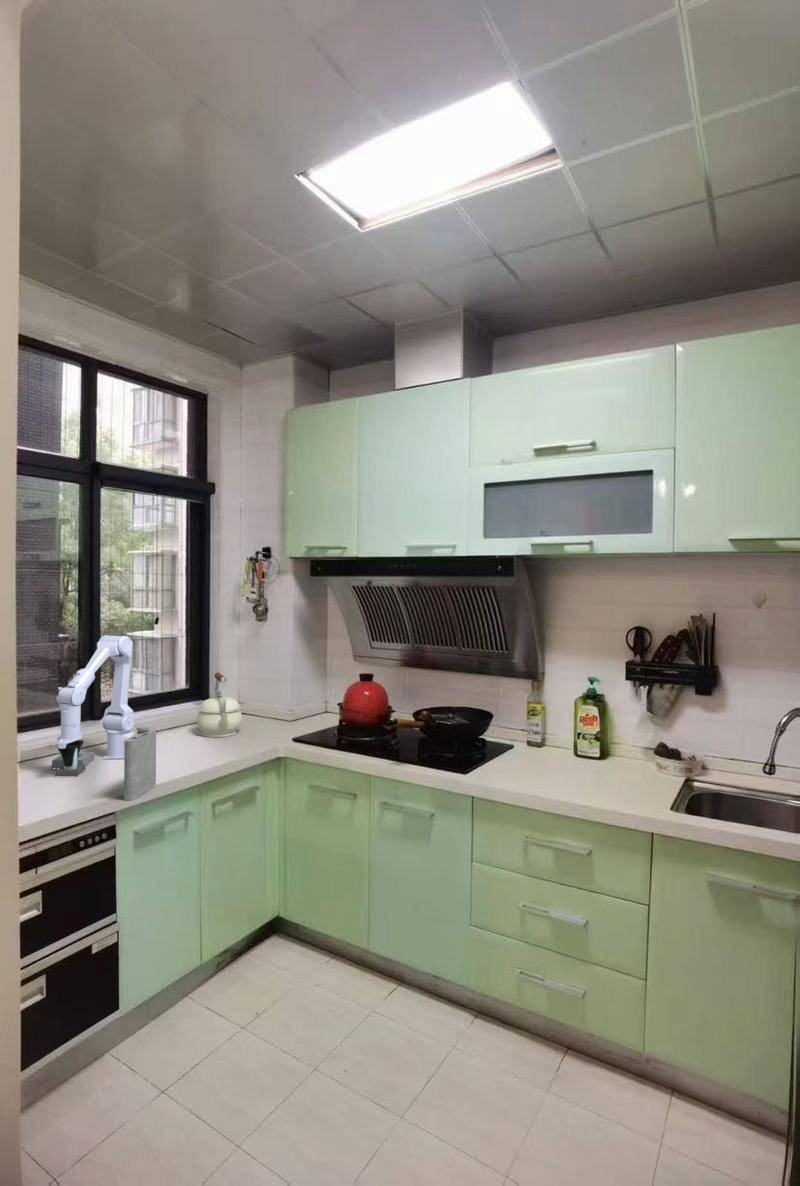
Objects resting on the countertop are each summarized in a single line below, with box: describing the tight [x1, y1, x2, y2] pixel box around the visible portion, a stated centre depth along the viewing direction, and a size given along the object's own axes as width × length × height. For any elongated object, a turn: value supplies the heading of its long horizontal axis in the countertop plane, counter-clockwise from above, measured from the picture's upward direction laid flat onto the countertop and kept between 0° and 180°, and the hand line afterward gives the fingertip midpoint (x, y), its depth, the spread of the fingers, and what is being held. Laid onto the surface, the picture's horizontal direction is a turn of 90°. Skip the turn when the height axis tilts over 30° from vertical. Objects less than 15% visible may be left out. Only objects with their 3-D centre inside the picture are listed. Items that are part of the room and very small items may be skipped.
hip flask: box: [123, 725, 157, 802], centre depth 189 cm, size 16×4×20 cm, turn 176°
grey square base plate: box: [54, 764, 87, 777], centre depth 206 cm, size 7×7×2 cm
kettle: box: [196, 672, 243, 738], centre depth 261 cm, size 25×18×25 cm
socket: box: [51, 751, 95, 769], centre depth 216 cm, size 10×10×3 cm
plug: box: [64, 748, 77, 770], centre depth 206 cm, size 3×3×9 cm
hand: (70, 764), depth 206 cm, fingers closed on plug, 3 cm apart
